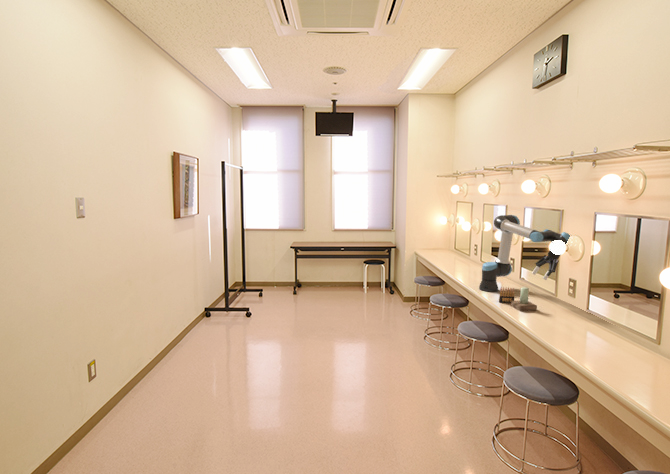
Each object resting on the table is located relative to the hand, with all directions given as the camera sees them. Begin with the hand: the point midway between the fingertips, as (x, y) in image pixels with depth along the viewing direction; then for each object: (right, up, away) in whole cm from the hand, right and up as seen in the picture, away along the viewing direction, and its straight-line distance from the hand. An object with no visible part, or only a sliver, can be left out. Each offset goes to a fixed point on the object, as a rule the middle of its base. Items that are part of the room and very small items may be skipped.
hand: (538, 276), depth 263 cm
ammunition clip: (-19, -21, +10) cm, 30 cm away
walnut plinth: (-13, -23, -4) cm, 27 cm away
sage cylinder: (-13, -19, -4) cm, 23 cm away
